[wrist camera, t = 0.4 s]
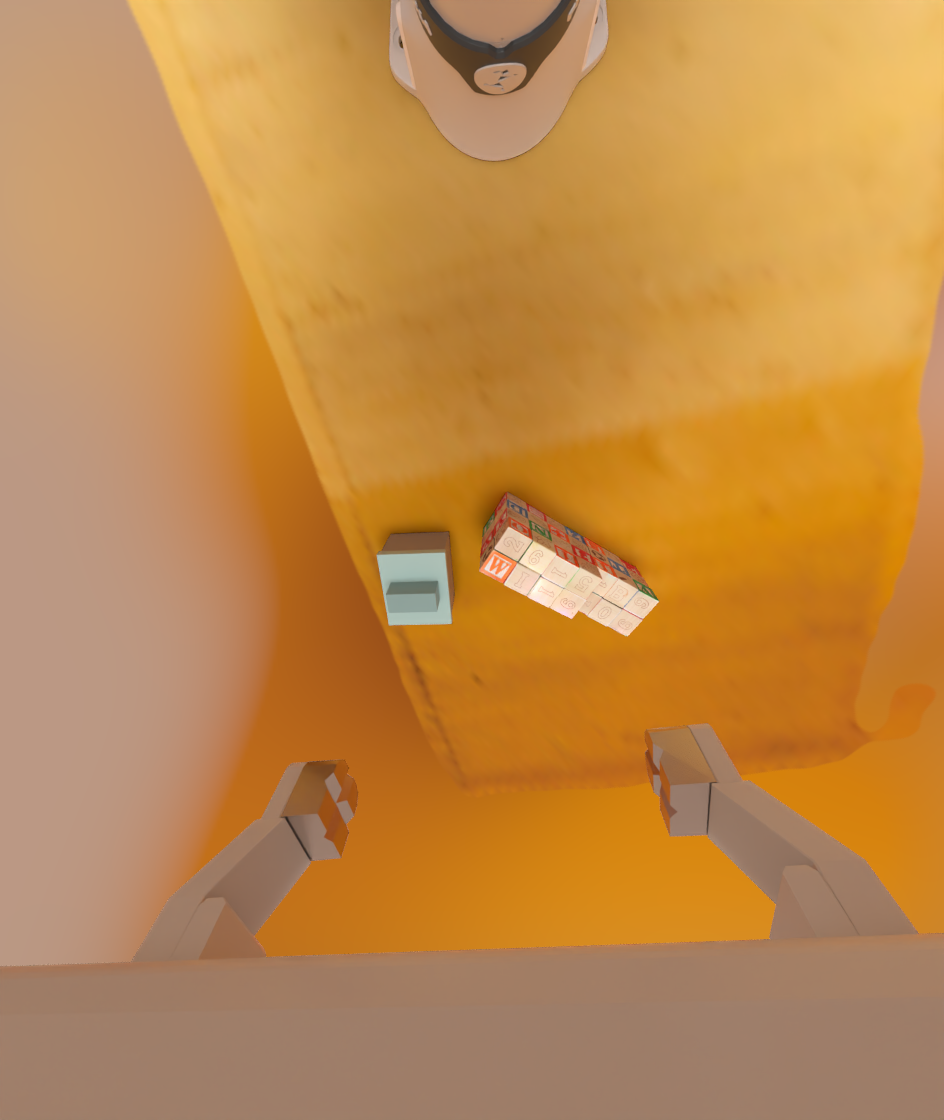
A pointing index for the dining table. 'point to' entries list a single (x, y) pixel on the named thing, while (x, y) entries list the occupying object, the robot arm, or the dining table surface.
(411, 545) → the storage box
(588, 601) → the stack of blocks
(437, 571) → the lid
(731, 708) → the dining table surface
